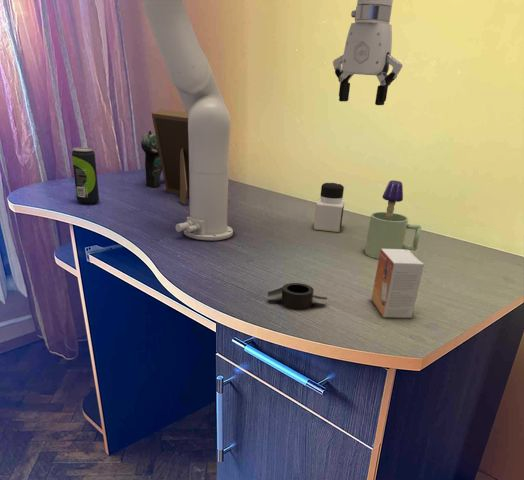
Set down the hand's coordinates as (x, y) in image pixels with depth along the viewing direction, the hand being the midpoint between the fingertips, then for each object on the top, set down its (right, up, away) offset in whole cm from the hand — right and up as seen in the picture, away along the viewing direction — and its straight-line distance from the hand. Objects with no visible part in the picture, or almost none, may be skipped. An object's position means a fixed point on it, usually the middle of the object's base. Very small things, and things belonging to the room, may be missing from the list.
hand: (361, 103), depth 121 cm
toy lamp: (+6, -34, +5) cm, 35 cm away
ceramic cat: (-58, +1, +62) cm, 85 cm away
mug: (+8, -35, +5) cm, 36 cm away
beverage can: (-75, -14, +32) cm, 83 cm away
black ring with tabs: (-17, -49, -24) cm, 57 cm away
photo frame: (-48, -10, +44) cm, 66 cm away
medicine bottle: (-5, -24, +23) cm, 34 cm away
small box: (+1, -50, -24) cm, 56 cm away
